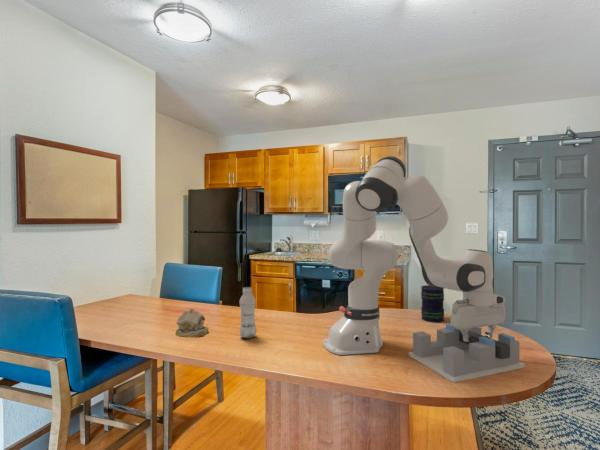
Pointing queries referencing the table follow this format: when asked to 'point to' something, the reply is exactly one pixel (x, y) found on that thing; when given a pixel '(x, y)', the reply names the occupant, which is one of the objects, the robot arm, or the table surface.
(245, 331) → the plastic bottle
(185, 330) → the ceramic model
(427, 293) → the black ribbed barrel
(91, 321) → the table surface
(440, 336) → the grey slotted fixture rack
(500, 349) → the dark square rod
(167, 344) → the table surface
